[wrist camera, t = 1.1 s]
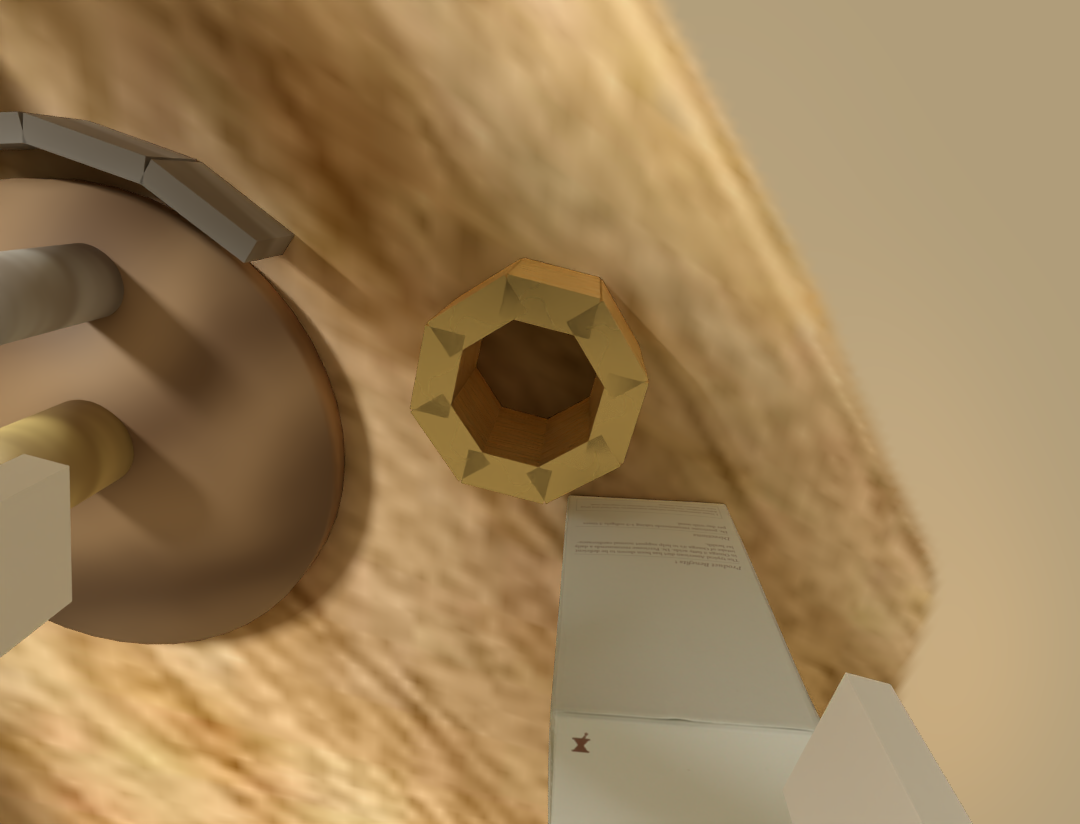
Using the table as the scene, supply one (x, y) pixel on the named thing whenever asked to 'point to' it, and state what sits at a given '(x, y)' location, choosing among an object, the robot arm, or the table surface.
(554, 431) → the gear
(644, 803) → the supplement box
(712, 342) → the table surface
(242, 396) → the carrier
